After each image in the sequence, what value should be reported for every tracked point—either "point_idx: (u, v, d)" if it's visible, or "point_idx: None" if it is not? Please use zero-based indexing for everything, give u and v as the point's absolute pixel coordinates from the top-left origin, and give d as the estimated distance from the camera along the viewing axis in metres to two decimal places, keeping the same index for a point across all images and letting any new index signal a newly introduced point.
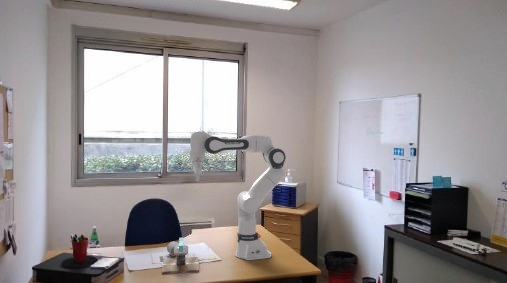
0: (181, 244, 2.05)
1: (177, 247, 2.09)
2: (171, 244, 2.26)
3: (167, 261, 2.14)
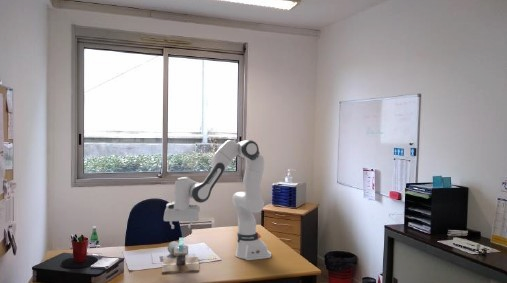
0: (181, 244, 2.05)
1: (177, 247, 2.09)
2: (172, 244, 2.27)
3: (167, 261, 2.14)
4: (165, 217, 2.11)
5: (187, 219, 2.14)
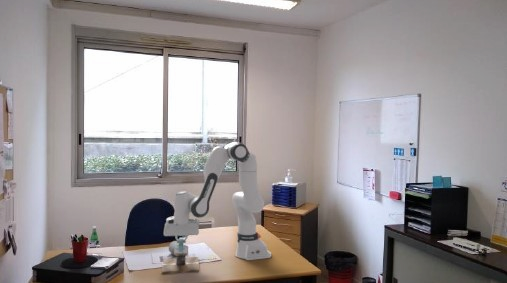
0: (181, 244, 2.05)
1: (177, 247, 2.09)
2: (173, 244, 2.27)
3: (167, 261, 2.14)
4: (165, 232, 2.12)
5: (187, 233, 2.14)
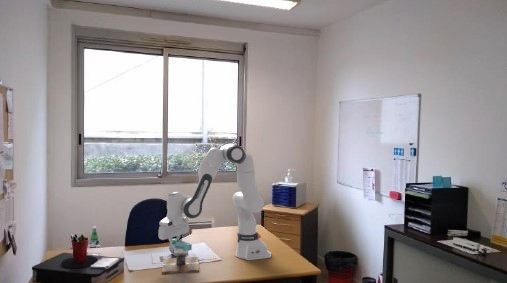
0: (187, 243, 2.06)
1: (178, 248, 2.08)
2: None
3: (167, 261, 2.14)
4: (164, 235, 2.04)
5: (181, 233, 2.15)
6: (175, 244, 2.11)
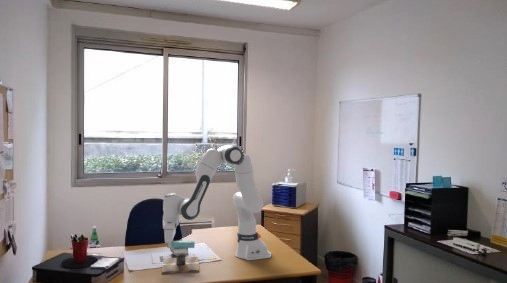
0: (190, 241, 2.10)
1: (180, 248, 2.07)
2: None
3: (167, 261, 2.14)
4: (172, 238, 2.00)
5: (174, 234, 2.12)
6: (174, 246, 2.08)
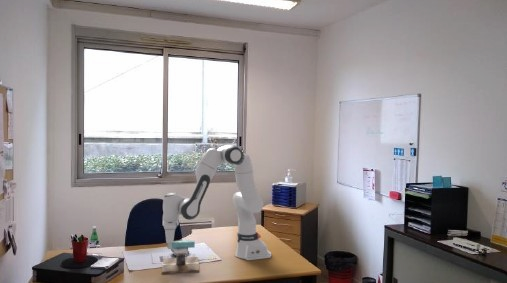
0: (190, 241, 2.10)
1: (181, 248, 2.08)
2: None
3: (167, 261, 2.14)
4: (173, 238, 2.00)
5: None
6: (174, 246, 2.08)
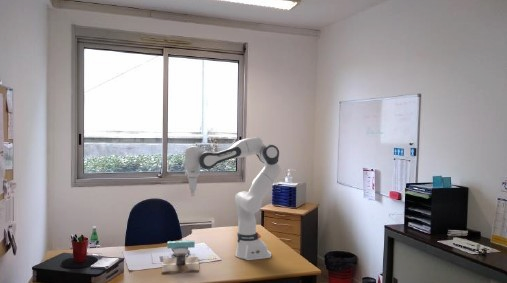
0: (190, 241, 2.10)
1: (181, 248, 2.08)
2: None
3: (167, 261, 2.14)
4: None
5: None
6: (174, 246, 2.08)
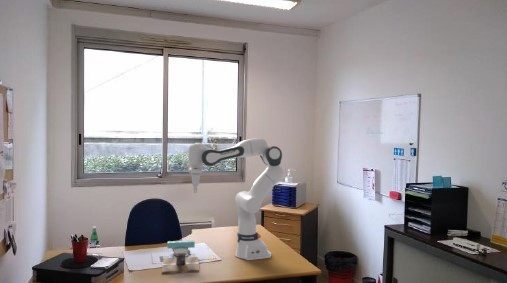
0: (190, 241, 2.10)
1: (181, 248, 2.08)
2: None
3: (167, 261, 2.14)
4: None
5: None
6: (174, 246, 2.08)
